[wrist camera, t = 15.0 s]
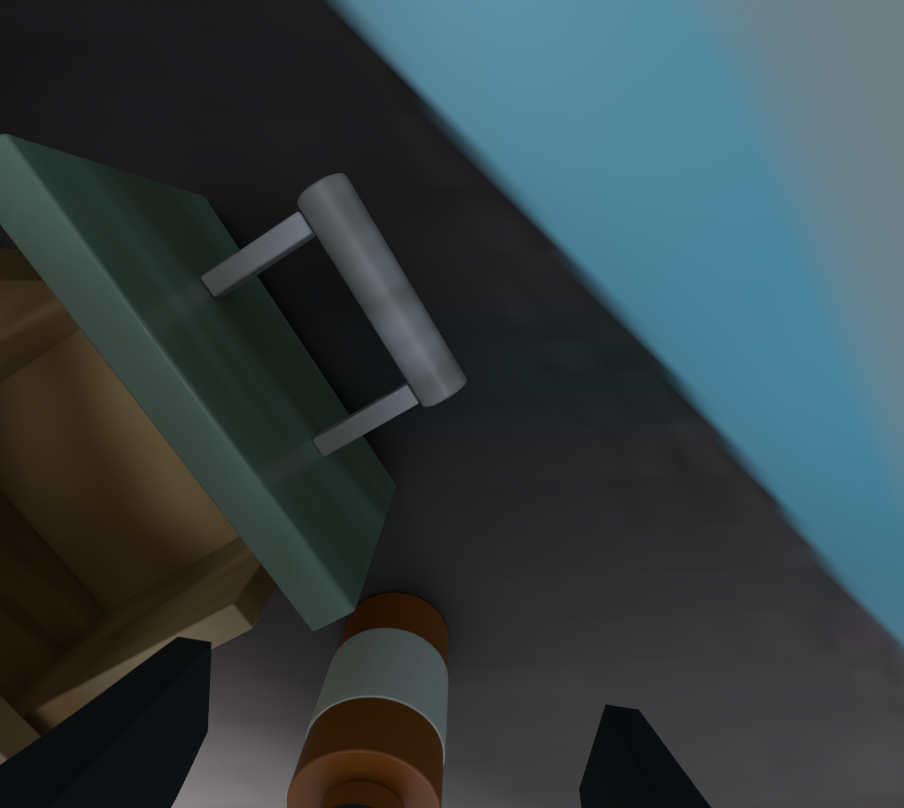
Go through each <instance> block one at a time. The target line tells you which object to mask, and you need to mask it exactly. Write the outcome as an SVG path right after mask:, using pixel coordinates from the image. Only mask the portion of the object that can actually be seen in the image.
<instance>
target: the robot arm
mask: <svg viewBox="0 0 904 808" xmlns="http://www.w3.org/2000/svg"><path fill="white" fill-rule="evenodd" d="M211 646H212V642H209V641H203V640H196V639H190V638H184V637H177V638H175V639H174V640H172V641H171V642H169V643H168V644H167V645H165V646H164V647H163V648H161V649H160V650H158V651H157V652H156V653H154V654H153V655H152V656H150V657H149V658H148V659H146V660H145V661H144V662H142V663H141V664H140V665H138V666H137V667H136V668H134V669H133V670H132V671H130V672H129V673H128V674H126V675H125V676H124V677H122V678H121V679H120V680H118V681H117V682H115V683H114V684H113V685H111V686H110V687H109V688H107V689H106V690H105V691H103V692H102V693H101V694H99V695H98V696H97V697H95V698H94V699H92V700H91V701H90V702H88V703H87V704H86V705H84V706H83V707H81V708H80V709H79V710H77V711H76V712H74V713H73V714H72V715H70V716H69V717H67V718H66V719H65V720H63V721H62V722H60V723H59V724H58V725H56V726H55V727H54V728H52V729H51V730H49V731H48V732H47V733H45V734H44V735H42V736H41V737H40V738H38V739H37V740H35V741H34V742H32V743H31V744H30V745H28V746H27V747H25V748H24V749H22V750H21V751H20V752H18V753H17V754H15V755H14V756H12V757H11V758H9V759H8V760H6V761H5V762H3V763H2V764H0V808H171V806H172V805H173V803H174V801H175V800H176V797H177V795H178V793H179V791H180V789H181V787H182V785H183V783H184V781H185V779H186V777H187V775H188V773H189V771H190V768H191V766H192V764H193V762H194V760H195V758H196V756H197V753H198V751H199V749H200V747H201V745H202V743H203V740H204V738H205V736H206V734H207V732H208V713H209V691H210V668H211ZM579 791H580V799H581V807H582V808H711V807H710V806H709V804H708V803H707V802H706V800H705V799H704V798H703V796H702V795H701V794H700V792H699V791H698V789H697V788H696V787H695V785H694V784H693V783H692V781H691V780H690V779H689V777H688V776H687V775H686V773H685V772H684V771H683V769H682V768H681V766H680V765H679V764H678V762H677V761H676V760H675V758H674V757H673V756H672V754H671V753H670V751H669V750H668V749H667V747H666V746H665V745H664V743H663V742H662V741H661V739H660V738H659V736H658V735H657V734H656V732H655V731H654V730H653V728H652V727H651V726H650V724H649V723H648V722H647V720H646V719H645V718H644V716H643V715H642V714H641V712H640V711H639V710H637V709H631V708H624V707H618V706H612V705H605V708H604V711H603V714H602V718H601V721H600V724H599V727H598V731H597V734H596V737H595V740H594V743H593V747H592V750H591V753H590V756H589V759H588V763H587V766H586V769H585V772H584V775H583V779H582V782H581V785H580V788H579Z"/></svg>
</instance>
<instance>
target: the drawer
mask: <svg viewBox="0 0 904 808" xmlns="http://www.w3.org/2000/svg"><path fill="white" fill-rule="evenodd" d="M297 202H298V207H299V208H300V210H301V211H302V213H301V212H296V213H295V214H293V215H292V216H290V217H289V218H287V219H286V220H284V221H283V222H281V223H280V224H278V225H277V226H275V227H274V228H272V229H271V230H269V231H268V232H266V233H265V234H263V235H262V236H260V237H259V238H257V239H256V240H254V241H253V242H251V243H250V244H248V245H247V246H246V247H244V248H243V249H241V250H240V249H239V248H238V246H237V245H236V243H235V242H234V240H233V239H232V237H231V236H230V234H229V233H228V231H227V230H226V228H225V227H224V225H223V224H222V222H221V221H220V219H219V218H218V216H217V215H216V213H215V212H214V210H213V208H212V207H211V205H210V204H209V202H208V201H207V199H206V198H205V197H204V196H201V195H198V194H194V193H191V192H188V191H185V190H182V189H179V188H176V187H172V186H169V185H166V184H163V183H160V182H157V181H153V180H150V179H147V178H144V177H141V176H138V175H135V174H131V173H128V172H125V171H122V170H119V169H116V168H113V167H109V166H106V165H103V164H100V163H97V162H94V161H90V160H87V159H84V158H81V157H78V156H75V155H72V154H68V153H65V152H62V151H59V150H56V149H53V148H50V147H46V146H43V145H40V144H37V143H34V142H31V141H27V140H24V139H21V138H18V137H15V136H12V135H9V134H2V135H0V225H1V226H2V227H3V229H4V230H5V231H6V233H7V234H8V235H9V237H10V238H11V239H12V240H13V242H14V243H15V244H16V246H17V247H18V248H19V249H6V248H0V695H1V696H2V697H3V698H4V699H5V700H6V701H7V702H8V703H9V704H10V705H11V706H12V707H13V708H14V709H15V710H16V711H17V712H18V713H19V714H20V715H21V716H22V717H23V718H24V719H25V720H26V721H27V722H28V723H29V724H30V725H31V726H32V727H33V728H34V729H35V730H36V731H37V732H38V733H39V735H40V736H42V735H44V734H45V733H47V732H48V731H49V730H51V729H52V728H54V727H55V726H56V725H58V724H59V723H60V722H62V721H63V720H65V719H66V718H67V717H69V716H70V715H72V714H73V713H74V712H76V711H77V710H79V709H80V708H81V707H83V706H84V705H86V704H87V703H88V702H90V701H91V700H92V699H94V698H95V697H97V696H98V695H99V694H101V693H102V692H103V691H105V690H106V689H107V688H109V687H110V686H111V685H113V684H114V683H115V682H117V681H118V680H120V679H121V678H122V677H124V676H125V675H126V674H128V673H129V672H130V671H132V670H133V669H134V668H136V667H137V666H138V665H140V664H141V663H142V662H144V661H145V660H146V659H148V658H149V657H150V656H152V655H153V654H154V653H156V652H157V651H158V650H160V649H161V648H163V647H164V646H165V645H167V644H168V643H169V642H171V641H172V640H174V639H175V638H177V637H184V638H190V639H196V640H203V641H209V642H212V646H211V650H212V649H214V648H216V647H217V646H219V645H221V644H223V643H225V642H227V641H229V640H231V639H233V638H235V637H237V636H239V635H241V634H242V633H244V632H246V631H248V630H250V629H252V628H253V627H254V625H255V623H256V622H257V620H258V618H259V617H260V615H261V614H262V612H263V610H264V609H265V607H266V605H267V604H268V602H269V600H270V599H271V597H272V595H273V594H274V592H275V591H276V589H277V587H279V588H280V589H281V591H282V592H283V593H284V594H285V596H286V597H287V598H288V600H289V601H290V602H291V604H292V605H293V606H294V607H295V609H296V610H297V611H298V613H299V614H300V615H301V617H302V618H303V619H304V620H305V622H306V623H307V624H308V626H309V627H310V628H311V630H313V631H317V630H319V629H321V628H323V627H325V626H327V625H329V624H331V623H333V622H335V621H337V620H339V619H341V618H342V617H344V616H346V615H348V614H350V613H352V612H354V611H355V609H356V606H357V603H358V600H359V597H360V594H361V591H362V588H363V585H364V582H365V579H366V576H367V573H368V570H369V567H370V564H371V561H372V558H373V555H374V552H375V549H376V546H377V543H378V540H379V537H380V534H381V531H382V528H383V525H384V522H385V519H386V516H387V513H388V510H389V507H390V504H391V501H392V498H393V495H394V492H395V489H396V484H395V483H394V481H393V480H392V478H391V477H390V475H389V474H388V472H387V471H386V469H385V468H384V466H383V465H382V463H381V462H380V460H379V459H378V457H377V456H376V454H375V453H374V451H373V450H372V448H371V447H370V445H369V444H368V442H367V441H366V439H365V438H364V436H363V435H364V434H366V433H367V432H369V431H371V430H373V429H374V428H376V427H378V426H380V425H381V424H383V423H385V422H387V421H388V420H390V419H392V418H394V417H395V416H397V415H399V414H401V413H402V412H404V411H406V410H408V409H409V408H411V407H413V406H415V405H416V404H418V403H419V401H420V402H421V404H422V405H423V406H424V407H429V406H433V405H435V404H438V403H440V402H442V401H444V400H445V399H447V398H449V397H450V396H452V395H453V394H455V393H456V392H458V391H459V390H460V389H461V388H462V387H463V386H464V385H465V384H466V382H467V379H466V377H465V375H464V373H463V372H462V370H461V368H460V367H459V365H458V363H457V362H456V360H455V358H454V356H453V355H452V353H451V351H450V350H449V348H448V346H447V345H446V343H445V341H444V340H443V338H442V336H441V334H440V333H439V331H438V329H437V328H436V326H435V324H434V323H433V321H432V319H431V318H430V316H429V314H428V313H427V311H426V309H425V307H424V306H423V304H422V302H421V301H420V299H419V297H418V296H417V294H416V292H415V291H414V289H413V287H412V285H411V284H410V282H409V280H408V279H407V277H406V275H405V274H404V272H403V270H402V269H401V267H400V265H399V263H398V262H397V260H396V258H395V257H394V255H393V253H392V252H391V250H390V248H389V247H388V245H387V243H386V242H385V240H384V238H383V236H382V235H381V233H380V231H379V230H378V228H377V226H376V225H375V223H374V221H373V220H372V218H371V216H370V214H369V213H368V211H367V209H366V208H365V206H364V204H363V203H362V201H361V199H360V198H359V196H358V194H357V193H356V191H355V189H354V187H353V186H352V184H351V182H350V181H349V179H348V177H347V176H346V175H345V174H343V173H336V174H332V175H329V176H326V177H324V178H322V179H320V180H318V181H317V182H315V183H313V184H312V185H311V186H309V187H308V188H307V189H306V190H305V191H304V192H303V193H302V194H301V195H300V197H299V198H298V201H297ZM315 236H317V237H318V239H319V240H320V242H321V243H322V245H323V247H324V248H325V250H326V252H327V253H328V255H329V256H330V258H331V260H332V261H333V263H334V264H335V266H336V268H337V269H338V271H339V272H340V274H341V276H342V277H343V279H344V280H345V282H346V284H347V285H348V287H349V288H350V290H351V292H352V293H353V295H354V296H355V298H356V300H357V301H358V303H359V305H360V306H361V308H362V309H363V311H364V313H365V314H366V316H367V317H368V319H369V321H370V322H371V324H372V325H373V327H374V329H375V330H376V332H377V333H378V335H379V337H380V338H381V340H382V341H383V343H384V345H385V346H386V348H387V349H388V351H389V353H390V354H391V356H392V358H393V359H394V361H395V362H396V364H397V366H398V367H399V369H400V370H401V372H402V374H403V375H404V377H405V378H406V380H407V382H405V383H404V384H402V385H400V386H399V387H397V388H395V389H393V390H392V391H390V392H388V393H386V394H385V395H383V396H381V397H380V398H378V399H376V400H374V401H373V402H371V403H369V404H368V405H366V406H364V407H362V408H361V409H359V410H357V411H356V412H354V413H352V414H350V415H349V413H348V412H347V410H346V409H345V407H344V406H343V404H342V403H341V401H340V400H339V398H338V397H337V395H336V394H335V392H334V391H333V389H332V388H331V386H330V385H329V383H328V382H327V380H326V379H325V377H324V376H323V374H322V373H321V371H320V370H319V368H318V367H317V365H316V364H315V362H314V361H313V359H312V358H311V356H310V355H309V353H308V352H307V350H306V349H305V347H304V346H303V344H302V343H301V341H300V340H299V338H298V337H297V335H296V334H295V332H294V331H293V329H292V328H291V326H290V325H289V323H288V322H287V320H286V319H285V317H284V316H283V314H282V313H281V311H280V309H279V308H278V306H277V305H276V303H275V302H274V300H273V299H272V297H271V296H270V294H269V293H268V291H267V290H266V288H265V287H264V285H263V284H262V282H261V281H260V279H259V278H258V276H257V275H258V274H259V273H261V272H262V271H264V270H265V269H267V268H268V267H270V266H271V265H273V264H275V263H276V262H278V261H279V260H281V259H282V258H284V257H285V256H287V255H288V254H290V253H291V252H293V251H294V250H296V249H297V248H299V247H300V246H302V245H303V244H305V243H306V242H308V241H309V240H311V239H312V238H314V237H315Z"/></svg>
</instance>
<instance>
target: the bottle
mask: <svg viewBox="0 0 904 808" xmlns="http://www.w3.org/2000/svg"><path fill="white" fill-rule="evenodd" d="M448 647H449V635H448V630H447V626H446V624H445V622H444V620H443V618H442V616H441V615H440V614H439V613H438V611H437V610H436V609H435V608H434V607H433V606H431V605H430V604H429V603H428V602H426V601H424V600H422V599H420V598H418V597H416V596H413V595H410V594H405V593H395V592H394V593H383V594H379V595H375V596H373V597H370V598H368V599H367V600H365V601H363V602H362V603H361V604H359V605H358V606H357V607H356V609H355V611H354V612H352V613H351V614H350V616H349V618H348V620H347V622H346V625H345V628H344V631H343V634H342V637H341V639H340V642H339V645H338V648H337V651H336V653H335V655H334V657H333V659H332V661H331V664H330V667H329V670H328V673H327V676H326V678H325V681H324V684H323V687H322V690H321V693H320V696H319V698H318V701H317V704H316V707H315V710H314V713H313V716H312V718H311V721H310V724H309V727H308V730H307V733H306V737H305V743H304V746H303V749H302V752H301V755H300V758H299V761H298V764H297V767H296V769H295V772H294V775H293V778H292V781H291V784H290V787H289V790H288V795H287V808H441V801H442V779H443V765H444V761H445V747H446V723H447V700H448V672H447V669H448Z"/></svg>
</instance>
